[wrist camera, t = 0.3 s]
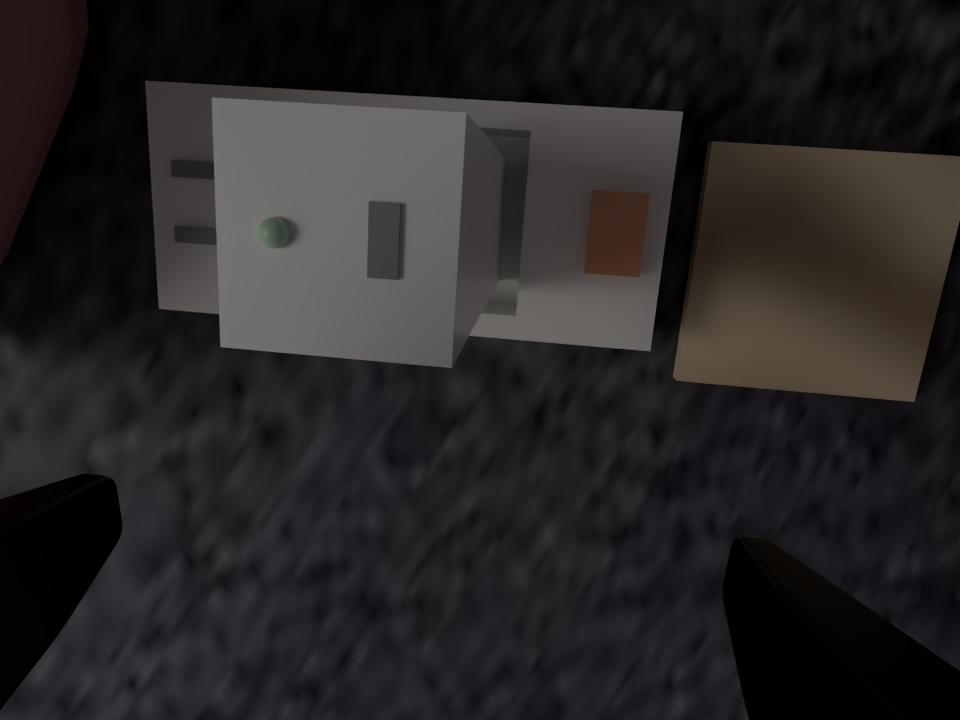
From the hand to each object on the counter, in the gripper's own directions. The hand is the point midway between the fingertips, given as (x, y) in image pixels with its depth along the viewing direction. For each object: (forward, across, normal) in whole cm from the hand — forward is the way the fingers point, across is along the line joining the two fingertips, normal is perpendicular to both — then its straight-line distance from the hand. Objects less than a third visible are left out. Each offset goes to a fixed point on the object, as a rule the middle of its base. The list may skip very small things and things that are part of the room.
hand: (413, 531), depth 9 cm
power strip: (+15, +3, -3) cm, 15 cm away
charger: (+14, +2, -3) cm, 15 cm away
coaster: (+15, -11, -2) cm, 18 cm away
